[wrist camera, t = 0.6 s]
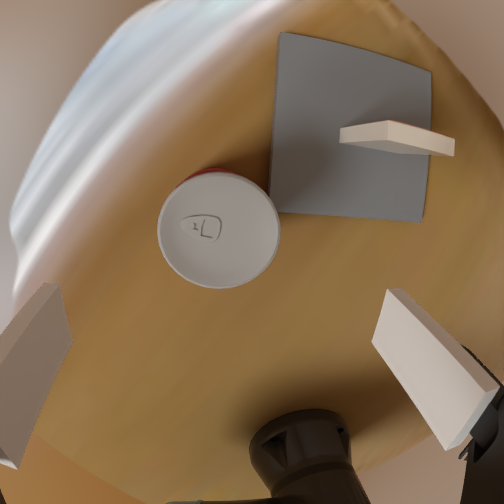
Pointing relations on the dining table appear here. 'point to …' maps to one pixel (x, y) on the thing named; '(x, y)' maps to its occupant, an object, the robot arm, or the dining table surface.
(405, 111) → the slate board
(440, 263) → the dining table surface
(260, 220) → the canned food
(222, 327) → the dining table surface
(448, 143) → the tile
